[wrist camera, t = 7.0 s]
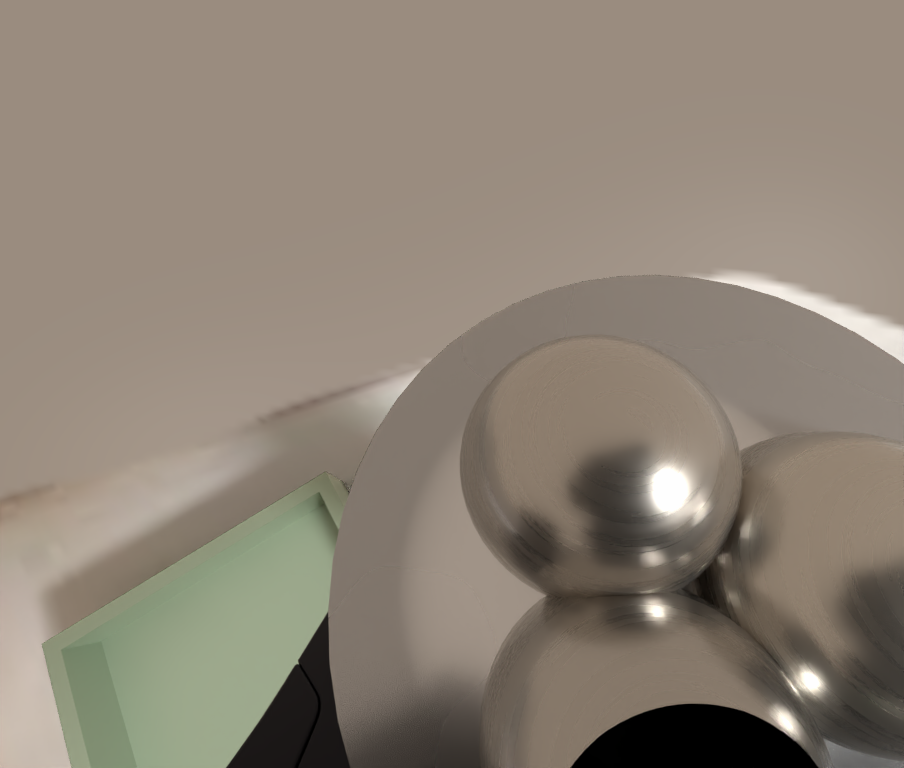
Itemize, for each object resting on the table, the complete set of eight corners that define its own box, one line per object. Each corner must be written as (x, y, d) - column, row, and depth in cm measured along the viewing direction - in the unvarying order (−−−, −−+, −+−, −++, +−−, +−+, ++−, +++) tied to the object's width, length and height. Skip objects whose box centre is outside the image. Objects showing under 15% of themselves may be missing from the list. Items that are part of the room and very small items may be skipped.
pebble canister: (613, 649, 13) (2026, 1553, 1) (452, 660, 13) (203, 1555, 1) (586, 487, 15) (1040, 156, 3) (443, 497, 15) (297, 226, 3)
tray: (485, 751, 18) (486, 780, 15) (190, 973, 16) (138, 1046, 14) (342, 481, 22) (325, 471, 19) (94, 634, 20) (41, 643, 18)
